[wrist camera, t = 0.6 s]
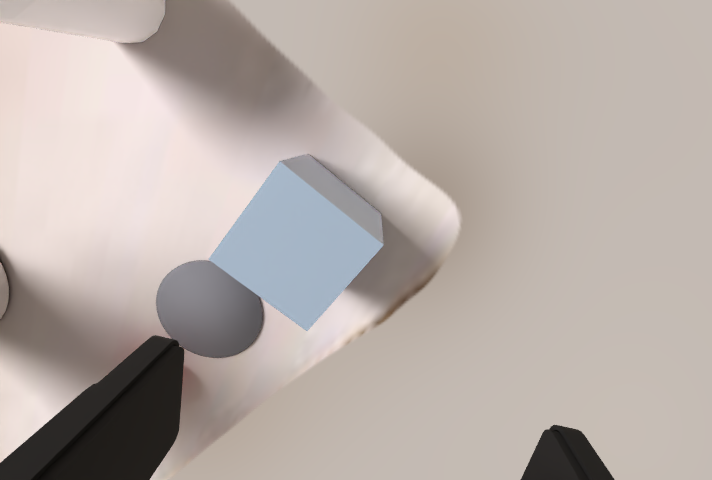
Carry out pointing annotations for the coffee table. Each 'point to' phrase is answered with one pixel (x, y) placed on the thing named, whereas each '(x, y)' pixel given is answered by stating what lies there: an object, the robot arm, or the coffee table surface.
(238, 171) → the coffee table surface
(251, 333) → the disc
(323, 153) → the coffee table surface
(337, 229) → the blue box
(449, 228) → the coffee table surface
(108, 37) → the foam cup
